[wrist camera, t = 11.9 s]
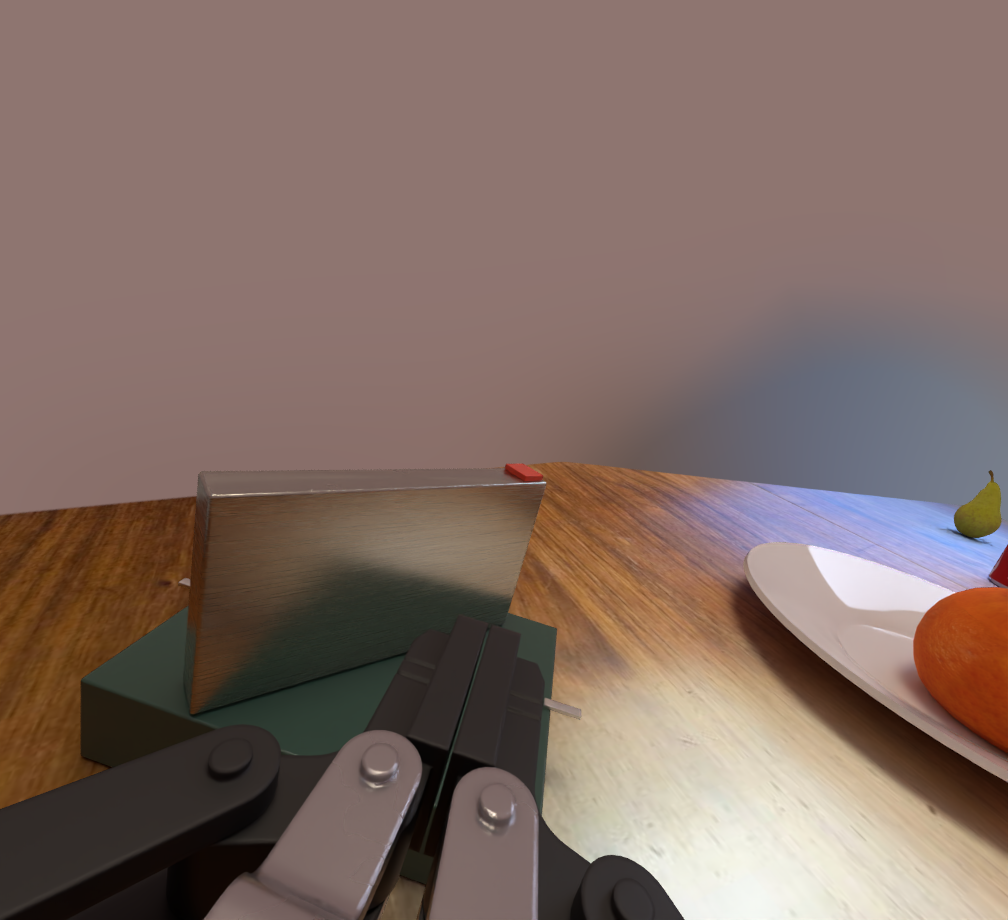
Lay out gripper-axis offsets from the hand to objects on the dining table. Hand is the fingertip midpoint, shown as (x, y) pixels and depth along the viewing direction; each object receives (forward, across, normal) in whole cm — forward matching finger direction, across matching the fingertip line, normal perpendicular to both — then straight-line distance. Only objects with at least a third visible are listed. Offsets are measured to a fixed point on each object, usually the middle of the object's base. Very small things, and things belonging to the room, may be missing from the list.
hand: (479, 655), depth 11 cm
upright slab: (+6, +4, +5) cm, 9 cm away
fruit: (+81, -76, +9) cm, 112 cm away
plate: (+22, -30, +9) cm, 38 cm away
